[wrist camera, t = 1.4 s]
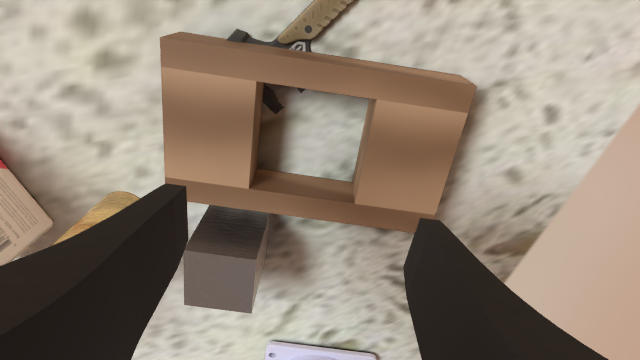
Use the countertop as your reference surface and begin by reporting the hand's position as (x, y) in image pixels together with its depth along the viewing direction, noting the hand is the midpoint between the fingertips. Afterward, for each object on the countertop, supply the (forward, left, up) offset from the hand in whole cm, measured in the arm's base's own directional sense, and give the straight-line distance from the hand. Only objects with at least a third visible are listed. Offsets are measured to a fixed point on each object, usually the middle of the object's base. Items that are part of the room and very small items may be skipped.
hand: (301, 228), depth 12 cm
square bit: (-7, +4, -10) cm, 13 cm away
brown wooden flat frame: (0, 0, -10) cm, 10 cm away
